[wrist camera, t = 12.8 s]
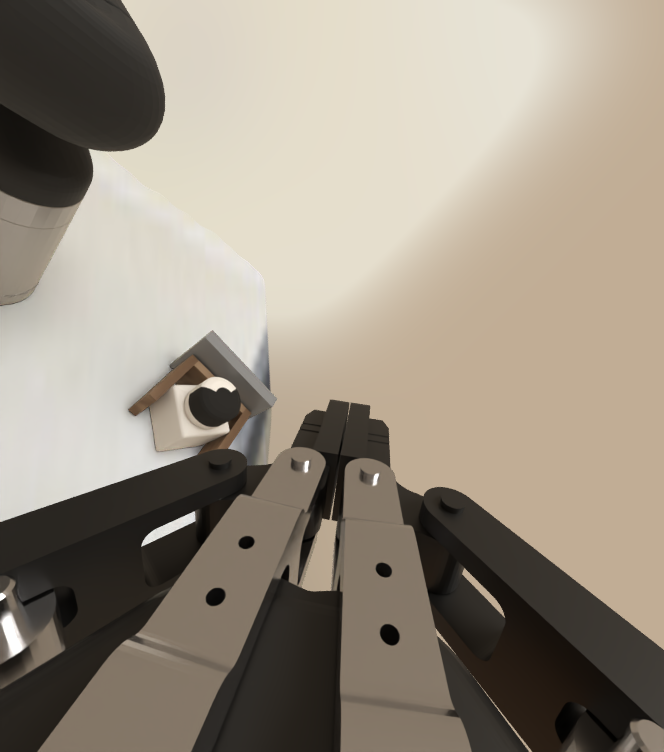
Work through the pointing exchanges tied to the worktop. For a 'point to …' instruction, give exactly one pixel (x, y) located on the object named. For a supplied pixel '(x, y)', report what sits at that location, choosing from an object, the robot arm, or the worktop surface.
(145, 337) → the worktop surface
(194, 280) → the worktop surface
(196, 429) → the medicine bottle
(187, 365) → the caddy
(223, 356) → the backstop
